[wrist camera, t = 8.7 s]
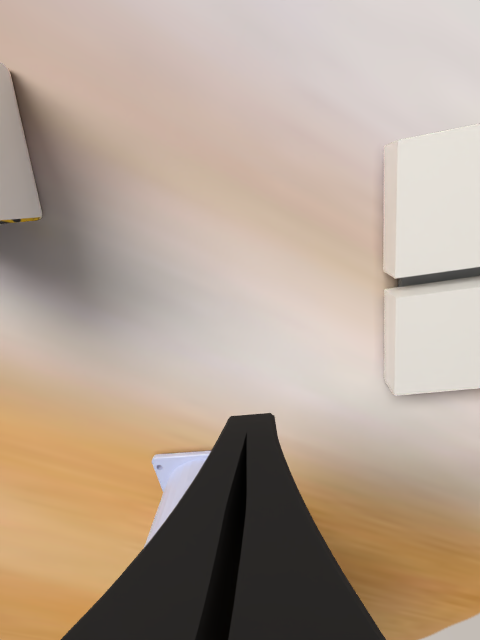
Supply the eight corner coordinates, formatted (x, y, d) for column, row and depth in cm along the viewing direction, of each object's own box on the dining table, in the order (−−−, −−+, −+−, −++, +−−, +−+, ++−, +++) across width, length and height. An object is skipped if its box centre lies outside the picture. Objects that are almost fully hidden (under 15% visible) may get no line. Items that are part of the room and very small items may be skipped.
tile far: (383, 379, 19) (488, 369, 18) (394, 395, 17) (509, 385, 16) (383, 288, 16) (503, 272, 16) (395, 298, 15) (529, 280, 14)
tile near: (382, 270, 16) (505, 253, 15) (395, 278, 14) (531, 259, 14) (383, 146, 14) (526, 117, 13) (397, 140, 12) (560, 106, 11)
